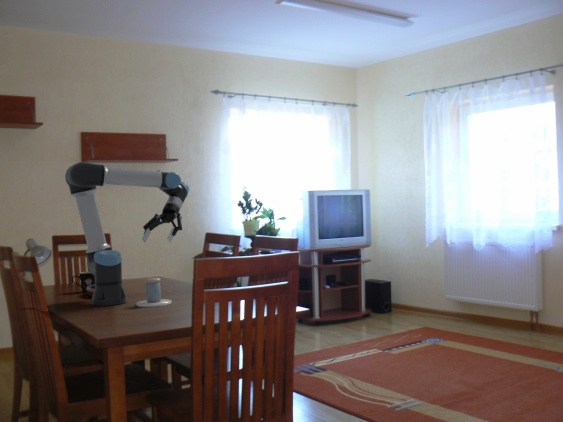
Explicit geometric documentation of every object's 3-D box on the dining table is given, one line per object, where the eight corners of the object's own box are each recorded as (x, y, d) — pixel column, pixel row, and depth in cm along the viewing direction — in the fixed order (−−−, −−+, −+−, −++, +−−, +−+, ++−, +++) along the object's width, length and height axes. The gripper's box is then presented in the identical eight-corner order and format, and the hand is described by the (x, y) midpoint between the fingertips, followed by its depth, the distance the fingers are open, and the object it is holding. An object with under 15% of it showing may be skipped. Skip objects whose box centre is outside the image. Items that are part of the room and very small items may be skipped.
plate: (142, 308, 255) (142, 305, 255) (132, 304, 268) (132, 301, 268) (176, 304, 262) (176, 302, 262) (164, 300, 275) (164, 298, 275)
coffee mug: (99, 290, 320) (99, 271, 320) (93, 292, 312) (92, 273, 311) (78, 290, 321) (78, 271, 321) (71, 293, 313) (70, 273, 313)
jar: (144, 303, 262) (143, 280, 262) (149, 300, 269) (148, 278, 269) (158, 302, 261) (157, 279, 261) (163, 300, 268) (162, 277, 268)
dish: (117, 290, 319) (117, 280, 319) (120, 298, 290) (119, 287, 290) (86, 292, 314) (86, 282, 314) (86, 300, 285) (85, 289, 285)
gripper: (197, 212, 293) (183, 245, 279) (153, 213, 302) (137, 246, 288) (192, 201, 288) (176, 234, 274) (147, 203, 297) (130, 235, 283)
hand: (156, 240), depth 281 cm, fingers open, 13 cm apart
